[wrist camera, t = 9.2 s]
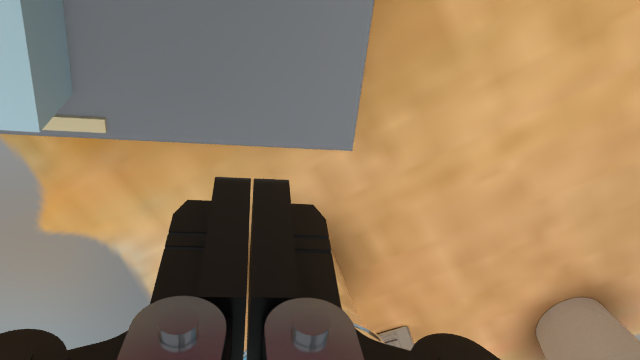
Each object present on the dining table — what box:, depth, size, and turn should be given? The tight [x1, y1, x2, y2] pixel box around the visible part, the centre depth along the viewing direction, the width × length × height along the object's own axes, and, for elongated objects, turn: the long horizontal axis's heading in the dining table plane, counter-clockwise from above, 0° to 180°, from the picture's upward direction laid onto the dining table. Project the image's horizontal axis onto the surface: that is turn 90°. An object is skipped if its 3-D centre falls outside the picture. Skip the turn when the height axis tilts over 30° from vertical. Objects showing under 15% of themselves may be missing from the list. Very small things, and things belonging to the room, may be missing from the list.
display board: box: [0, 0, 374, 151], centre depth 27 cm, size 15×28×1 cm, turn 84°
